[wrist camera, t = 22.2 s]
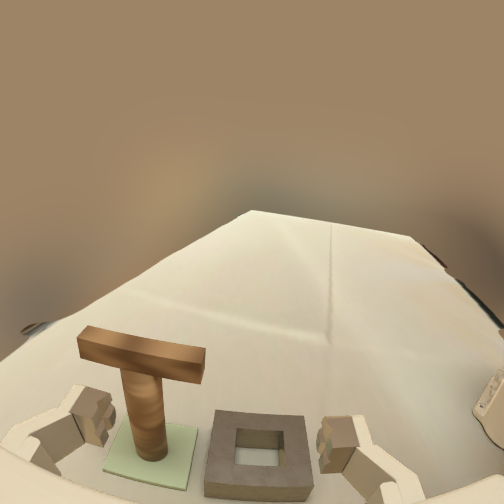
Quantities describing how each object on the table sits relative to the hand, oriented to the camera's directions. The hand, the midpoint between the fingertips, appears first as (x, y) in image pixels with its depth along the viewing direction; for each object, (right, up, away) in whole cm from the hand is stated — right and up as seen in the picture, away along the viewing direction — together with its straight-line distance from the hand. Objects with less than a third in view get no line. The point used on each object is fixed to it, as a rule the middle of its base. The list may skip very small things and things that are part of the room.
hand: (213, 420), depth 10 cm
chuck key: (-11, -18, +20) cm, 29 cm away
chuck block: (+2, -19, +21) cm, 29 cm away
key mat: (-11, -18, +20) cm, 29 cm away
